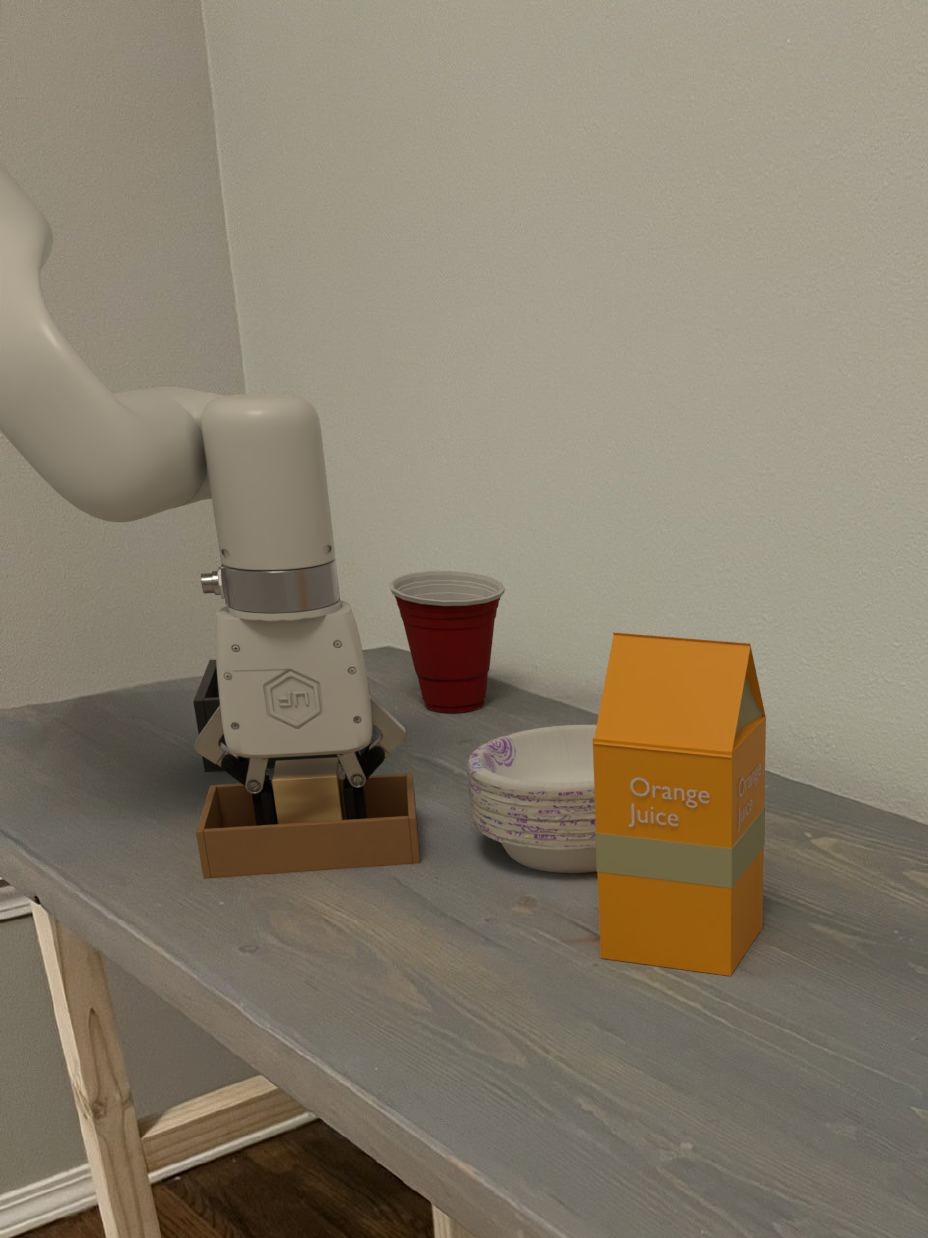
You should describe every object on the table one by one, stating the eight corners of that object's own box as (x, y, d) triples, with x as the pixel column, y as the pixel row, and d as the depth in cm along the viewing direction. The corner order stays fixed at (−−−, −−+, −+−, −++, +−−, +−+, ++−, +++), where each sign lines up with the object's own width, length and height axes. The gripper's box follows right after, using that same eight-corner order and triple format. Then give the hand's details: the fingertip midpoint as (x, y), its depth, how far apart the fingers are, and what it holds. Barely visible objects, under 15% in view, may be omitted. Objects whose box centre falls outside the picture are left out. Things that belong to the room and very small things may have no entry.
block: (282, 858, 108) (271, 780, 105) (286, 836, 112) (275, 760, 109) (346, 854, 109) (336, 776, 106) (347, 832, 112) (338, 756, 110)
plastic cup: (451, 728, 138) (440, 598, 133) (377, 707, 144) (364, 582, 139) (535, 703, 146) (528, 580, 140) (461, 684, 152) (452, 565, 146)
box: (204, 884, 105) (195, 831, 103) (217, 834, 113) (209, 785, 111) (420, 869, 107) (415, 817, 106) (417, 821, 116) (412, 773, 114)
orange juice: (730, 977, 92) (733, 659, 83) (598, 958, 94) (586, 647, 85) (764, 927, 99) (769, 628, 90) (639, 911, 101) (633, 617, 92)
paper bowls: (460, 828, 115) (452, 729, 111) (649, 809, 119) (647, 713, 115) (491, 903, 102) (483, 794, 98) (703, 879, 106) (702, 774, 103)
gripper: (143, 604, 97) (188, 863, 105) (410, 595, 100) (433, 846, 108) (158, 581, 103) (199, 826, 111) (408, 572, 106) (429, 811, 115)
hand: (314, 833), depth 110 cm, fingers open, 5 cm apart
